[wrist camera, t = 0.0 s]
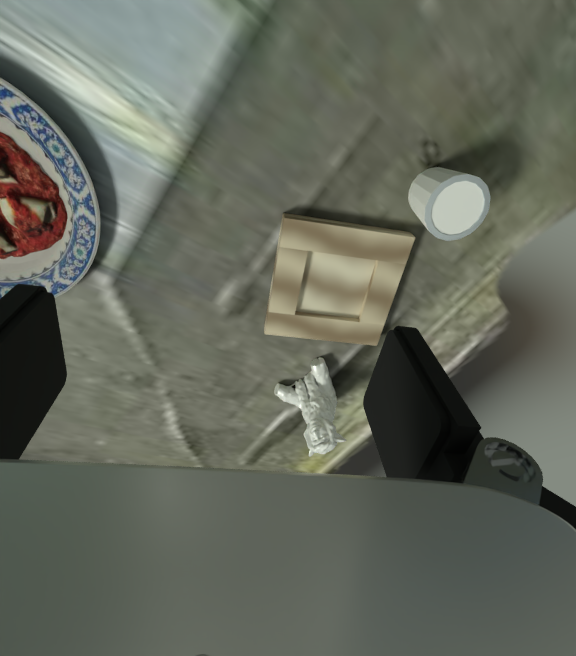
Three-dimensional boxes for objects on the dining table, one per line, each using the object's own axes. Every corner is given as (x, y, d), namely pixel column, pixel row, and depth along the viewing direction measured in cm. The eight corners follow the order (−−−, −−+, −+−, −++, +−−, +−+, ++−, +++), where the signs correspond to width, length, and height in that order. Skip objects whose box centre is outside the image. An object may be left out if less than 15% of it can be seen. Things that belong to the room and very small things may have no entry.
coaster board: (283, 212, 46) (284, 217, 44) (409, 231, 48) (415, 237, 47) (264, 326, 54) (264, 334, 53) (373, 337, 57) (376, 345, 55)
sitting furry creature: (320, 352, 58) (334, 410, 48) (352, 385, 62) (371, 445, 52) (271, 385, 60) (275, 447, 50) (305, 414, 64) (315, 477, 54)
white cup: (470, 194, 47) (502, 211, 41) (421, 232, 49) (444, 253, 43) (443, 147, 43) (473, 158, 38) (391, 189, 46) (412, 206, 40)
